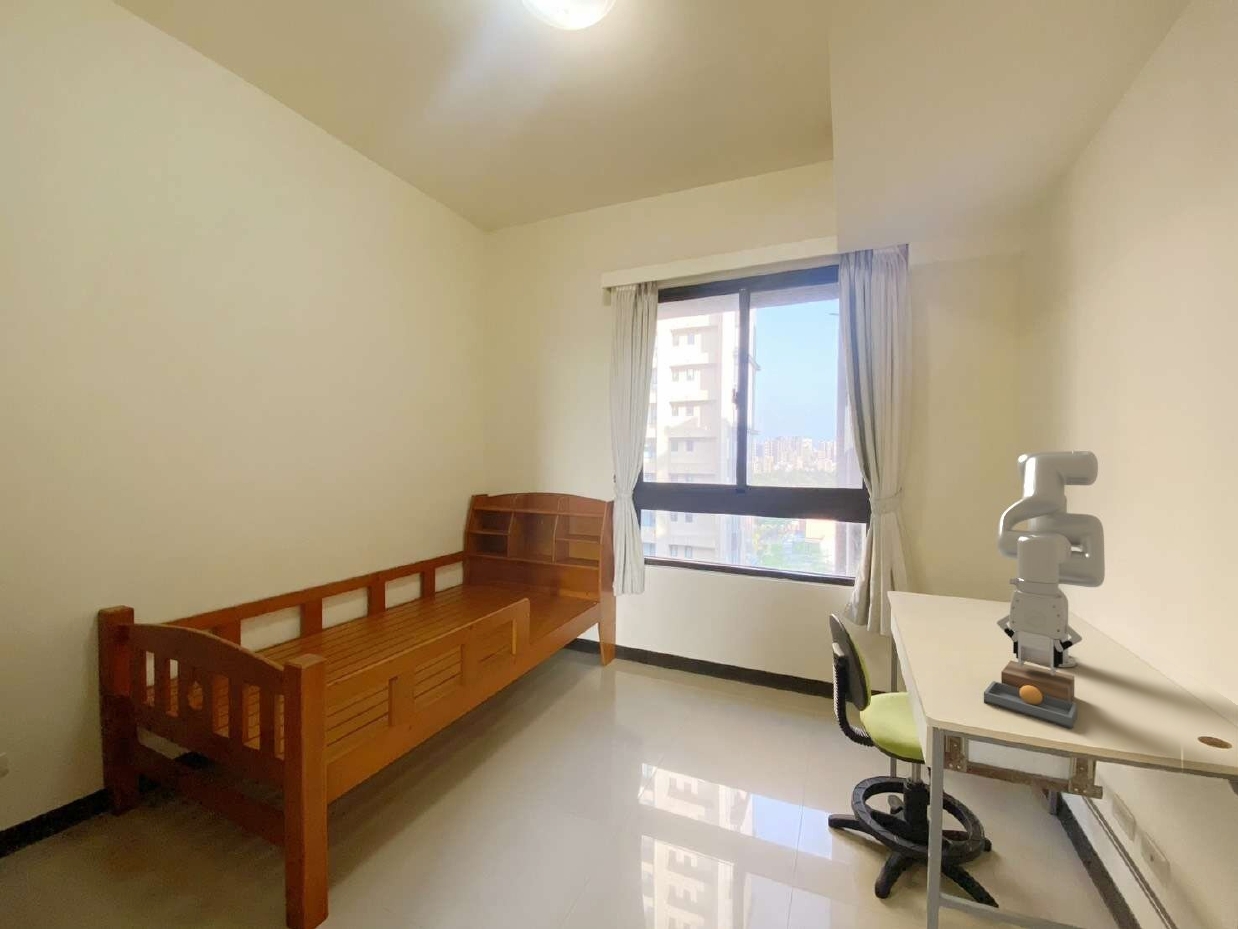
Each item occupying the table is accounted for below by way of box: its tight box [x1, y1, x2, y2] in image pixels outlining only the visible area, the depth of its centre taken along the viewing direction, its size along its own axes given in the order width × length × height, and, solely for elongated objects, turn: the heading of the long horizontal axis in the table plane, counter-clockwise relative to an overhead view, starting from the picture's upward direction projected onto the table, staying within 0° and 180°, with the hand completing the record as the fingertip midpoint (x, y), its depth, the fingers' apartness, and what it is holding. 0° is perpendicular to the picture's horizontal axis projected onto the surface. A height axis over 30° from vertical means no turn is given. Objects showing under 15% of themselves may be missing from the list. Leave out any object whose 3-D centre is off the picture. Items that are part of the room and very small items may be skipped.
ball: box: [1019, 685, 1042, 705], centre depth 111 cm, size 4×4×4 cm
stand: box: [1000, 660, 1075, 703], centre depth 116 cm, size 10×12×5 cm
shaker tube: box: [1017, 631, 1058, 675], centre depth 116 cm, size 6×6×9 cm
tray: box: [983, 680, 1078, 730], centre depth 110 cm, size 9×15×2 cm, turn 41°
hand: (1037, 661), depth 116 cm, fingers closed on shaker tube, 6 cm apart
